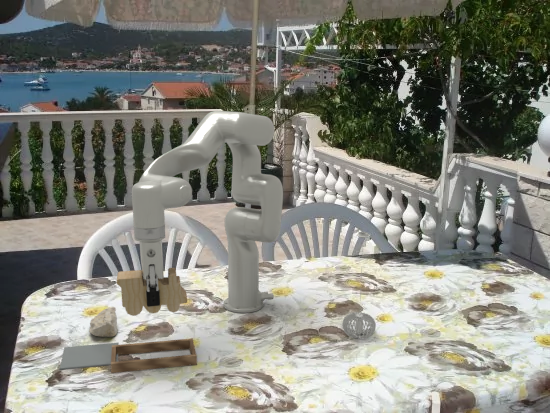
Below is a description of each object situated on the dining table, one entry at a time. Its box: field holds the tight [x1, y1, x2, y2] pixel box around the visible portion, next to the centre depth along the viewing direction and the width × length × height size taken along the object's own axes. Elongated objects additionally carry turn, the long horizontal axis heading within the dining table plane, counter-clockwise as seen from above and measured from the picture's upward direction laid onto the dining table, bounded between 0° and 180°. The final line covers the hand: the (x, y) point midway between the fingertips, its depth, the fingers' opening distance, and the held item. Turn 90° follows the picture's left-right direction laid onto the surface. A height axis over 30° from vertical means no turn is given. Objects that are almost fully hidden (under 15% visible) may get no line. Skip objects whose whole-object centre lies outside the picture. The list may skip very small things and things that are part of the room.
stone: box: [88, 306, 118, 338], centre depth 175 cm, size 8×12×10 cm, turn 12°
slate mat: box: [59, 342, 120, 371], centre depth 161 cm, size 14×12×1 cm
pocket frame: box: [110, 337, 198, 374], centre depth 160 cm, size 21×10×2 cm, turn 103°
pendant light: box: [342, 231, 377, 340], centre depth 172 cm, size 9×9×30 cm
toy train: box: [115, 267, 188, 317], centre depth 156 cm, size 6×17×10 cm, turn 101°
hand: (153, 300), depth 157 cm, fingers closed on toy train, 5 cm apart
